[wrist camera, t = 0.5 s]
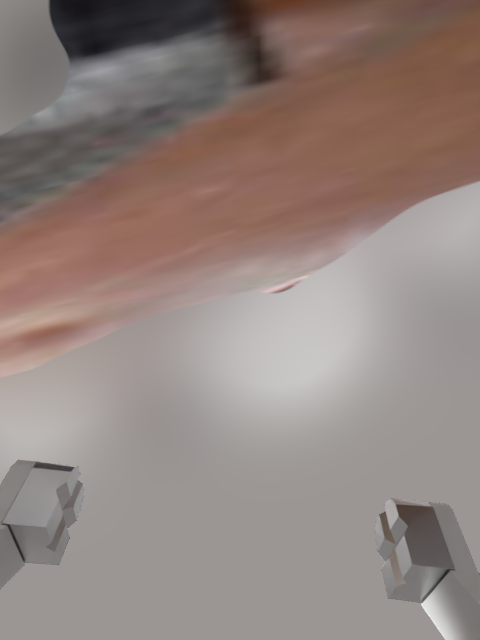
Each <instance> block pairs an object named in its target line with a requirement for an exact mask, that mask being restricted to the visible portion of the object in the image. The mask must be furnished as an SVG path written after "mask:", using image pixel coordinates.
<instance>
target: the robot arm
mask: <svg viewBox="0 0 480 640" xmlns="http://www.w3.org/2000/svg"><path fill="white" fill-rule="evenodd" d="M79 476H80V471H79V467H78V466H70V465H61V464H51V463H41V462H36V461H25V460H18V461H16V462H15V463H14V464H13V465H12V466H11V468H10V470H9V471H8V473H7V475H6V476H5V478H4V480H3V481H2V483H1V485H0V589H1V588H2V587H3V586H4V585H5V584H6V583H7V582H8V581H9V580H10V579H11V578H12V577H13V576H14V575H15V574H16V573H17V572H18V571H19V570H20V569H21V568H22V567H23V566H24V563H36V564H51V565H59V563H60V561H61V558H62V556H63V554H64V551H65V549H66V546H67V544H68V541H69V539H70V537H69V534H68V530H67V528H68V527H70V526H71V525H72V524H73V523H74V522H75V521H77V518H78V515H79V513H80V510H81V506H82V502H83V497H84V496H83V495H84V489H83V484H82V483H81V482H80V481H78V478H79ZM384 506H385V510H386V511H385V512H384V513H381V514H379V516H378V518H377V520H376V525H375V540H376V545H377V551H378V552H379V553H380V555H381V556H382V557H383V558H384V559H385V564H384V566H383V568H382V573H383V578H384V582H385V587H386V591H387V596H388V598H389V599H396V600H404V601H411V602H419V603H422V604H421V605H422V607H423V608H424V610H425V611H426V613H427V614H428V615H429V617H430V618H431V620H432V621H433V623H434V624H435V625H436V627H437V629H438V630H439V631H440V633H441V634H442V636H443V637H444V639H445V640H480V573H478V571H477V569H476V566H475V564H474V561H473V559H472V556H471V554H470V551H469V549H468V546H467V544H466V542H465V539H464V536H463V534H462V532H461V529H460V527H459V524H458V522H457V519H456V517H455V514H454V512H453V509H452V508H451V507H450V506H449V505H447V504H442V503H432V502H426V501H413V500H402V499H388V500H387V502H386V503H385V505H384Z"/></svg>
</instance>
